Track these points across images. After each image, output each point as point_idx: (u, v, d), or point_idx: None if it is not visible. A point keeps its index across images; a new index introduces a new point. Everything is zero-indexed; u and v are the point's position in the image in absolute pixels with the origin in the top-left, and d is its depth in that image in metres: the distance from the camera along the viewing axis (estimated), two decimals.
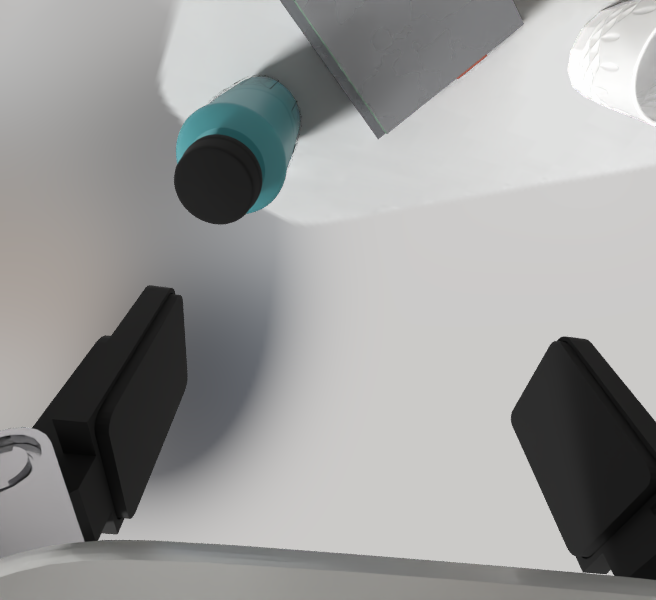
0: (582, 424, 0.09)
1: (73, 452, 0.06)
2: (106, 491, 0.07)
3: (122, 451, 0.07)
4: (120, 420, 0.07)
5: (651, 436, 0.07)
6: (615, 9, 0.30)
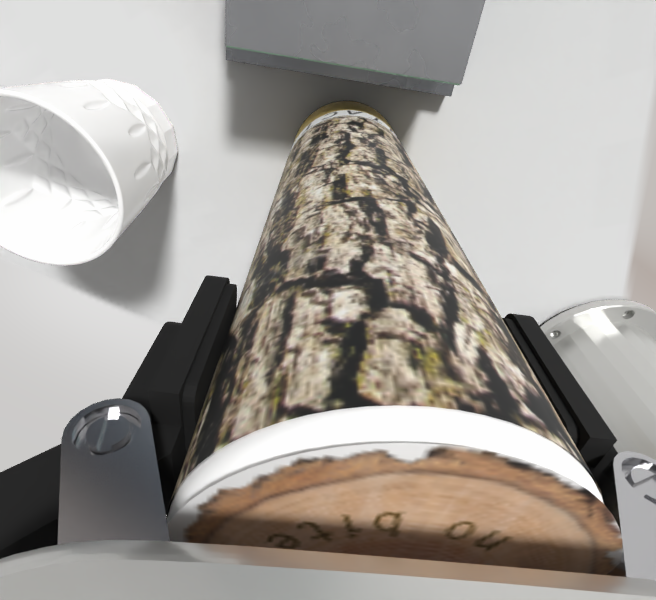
0: None
1: (162, 422, 0.07)
2: None
3: None
4: (199, 394, 0.07)
5: (574, 399, 0.08)
6: (168, 159, 0.25)
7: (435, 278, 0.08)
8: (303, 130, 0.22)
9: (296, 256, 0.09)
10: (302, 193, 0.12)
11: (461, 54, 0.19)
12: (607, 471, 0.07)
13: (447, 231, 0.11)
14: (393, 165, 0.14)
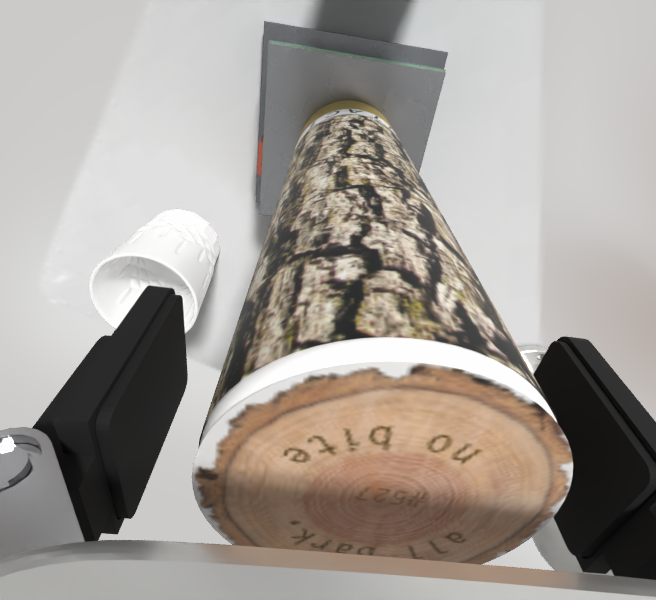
0: (582, 424, 0.09)
1: (73, 452, 0.06)
2: (106, 491, 0.07)
3: (122, 451, 0.07)
4: (120, 420, 0.07)
5: (651, 436, 0.07)
6: (215, 261, 0.37)
7: (424, 249, 0.09)
8: (307, 128, 0.23)
9: (304, 234, 0.10)
10: (308, 183, 0.14)
11: None
12: None
13: (438, 215, 0.12)
14: (391, 158, 0.15)
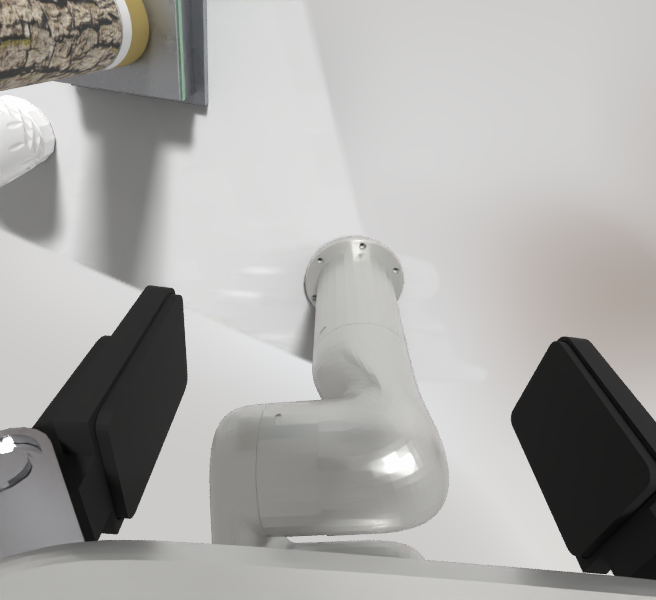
0: (582, 424, 0.09)
1: (73, 452, 0.06)
2: (106, 491, 0.07)
3: (122, 451, 0.07)
4: (120, 420, 0.07)
5: (651, 436, 0.07)
6: (44, 142, 0.42)
7: None
8: None
9: None
10: None
11: (174, 85, 0.36)
12: None
13: None
14: None
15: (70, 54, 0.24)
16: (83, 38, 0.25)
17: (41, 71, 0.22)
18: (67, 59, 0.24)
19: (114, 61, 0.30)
